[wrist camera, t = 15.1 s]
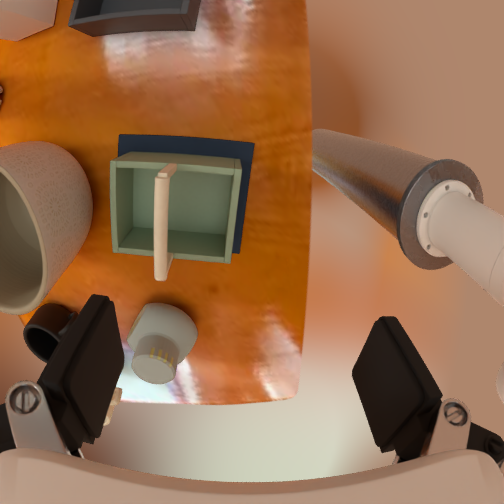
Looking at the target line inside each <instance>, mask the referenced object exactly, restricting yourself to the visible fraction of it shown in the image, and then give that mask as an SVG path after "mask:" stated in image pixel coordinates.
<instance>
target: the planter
mask: <svg viewBox="0 0 504 504" xmlns="http://www.w3.org/2000/svg"><path fill="white" fill-rule="evenodd" d="M92 214H93V200H92V193H91V188H90V185H89V181H88V179H87V176H86V174H85V172H84V170H83V168H82V167H81V165H80V164H79V163H78V161H77V160H76V159H75V158H74V157H73V156H72V155H71V154H70V153H69V152H68V151H66V150H65V149H63V148H62V147H60V146H58V145H55V144H53V143H49V142H43V141H29V142H22V143H16V144H12V145H8V146H4V147H0V311H1V312H4V313H7V314H12V315H22V314H26V313H29V312H31V311H33V310H34V309H35V308H36V307H37V306H38V305H39V304H40V303H41V302H42V300H43V299H44V298H45V297H46V295H47V294H48V293H49V291H50V290H51V288H52V287H53V286H54V284H55V283H56V282H57V280H58V279H59V278H60V276H61V275H62V274H63V272H64V271H65V270H66V268H67V267H68V266H69V264H70V263H71V262H72V260H73V259H74V258H75V256H76V255H77V253H78V252H79V250H80V249H81V247H82V245H83V243H84V242H85V240H86V237H87V235H88V232H89V229H90V226H91V221H92Z"/></svg>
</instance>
